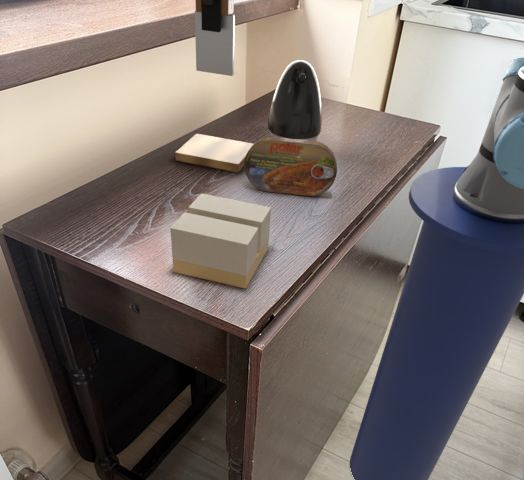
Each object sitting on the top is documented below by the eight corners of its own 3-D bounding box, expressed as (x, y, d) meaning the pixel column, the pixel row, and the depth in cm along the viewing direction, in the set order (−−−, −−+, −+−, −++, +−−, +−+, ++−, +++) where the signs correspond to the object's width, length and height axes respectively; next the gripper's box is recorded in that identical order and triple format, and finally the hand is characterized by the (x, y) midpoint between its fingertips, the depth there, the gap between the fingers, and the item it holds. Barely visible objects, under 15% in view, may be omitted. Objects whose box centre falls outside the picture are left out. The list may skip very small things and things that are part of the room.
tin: (242, 188, 85) (244, 138, 79) (245, 180, 87) (247, 130, 81) (332, 199, 84) (340, 149, 78) (333, 191, 86) (341, 141, 80)
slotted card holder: (268, 249, 72) (271, 207, 67) (245, 288, 65) (247, 244, 60) (202, 235, 73) (201, 193, 69) (173, 272, 66) (170, 227, 62)
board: (255, 151, 96) (255, 144, 95) (238, 172, 89) (238, 164, 88) (196, 141, 98) (196, 133, 97) (175, 160, 91) (174, 152, 90)
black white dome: (266, 157, 95) (273, 67, 84) (265, 136, 102) (271, 51, 92) (321, 160, 95) (333, 71, 85) (315, 139, 103) (326, 54, 92)
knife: (235, 73, 80) (237, -38, 70) (230, 77, 78) (232, -36, 68) (199, 68, 81) (197, -43, 71) (194, 72, 79) (190, -41, 69)
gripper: (207, -199, 65) (209, 16, 81) (155, -217, 54) (170, 36, 70) (263, -196, 64) (254, 22, 80) (221, -213, 53) (221, 43, 69)
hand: (215, 28), depth 75 cm, fingers closed on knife, 2 cm apart
